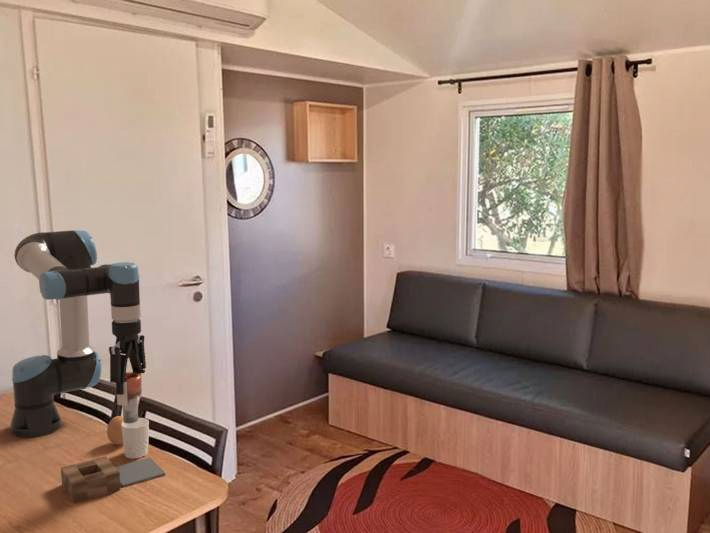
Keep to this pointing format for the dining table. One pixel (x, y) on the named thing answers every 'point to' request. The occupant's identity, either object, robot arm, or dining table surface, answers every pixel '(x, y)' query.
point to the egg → (115, 430)
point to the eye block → (90, 479)
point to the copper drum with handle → (132, 397)
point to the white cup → (135, 438)
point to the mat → (139, 471)
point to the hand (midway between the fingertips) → (129, 400)
